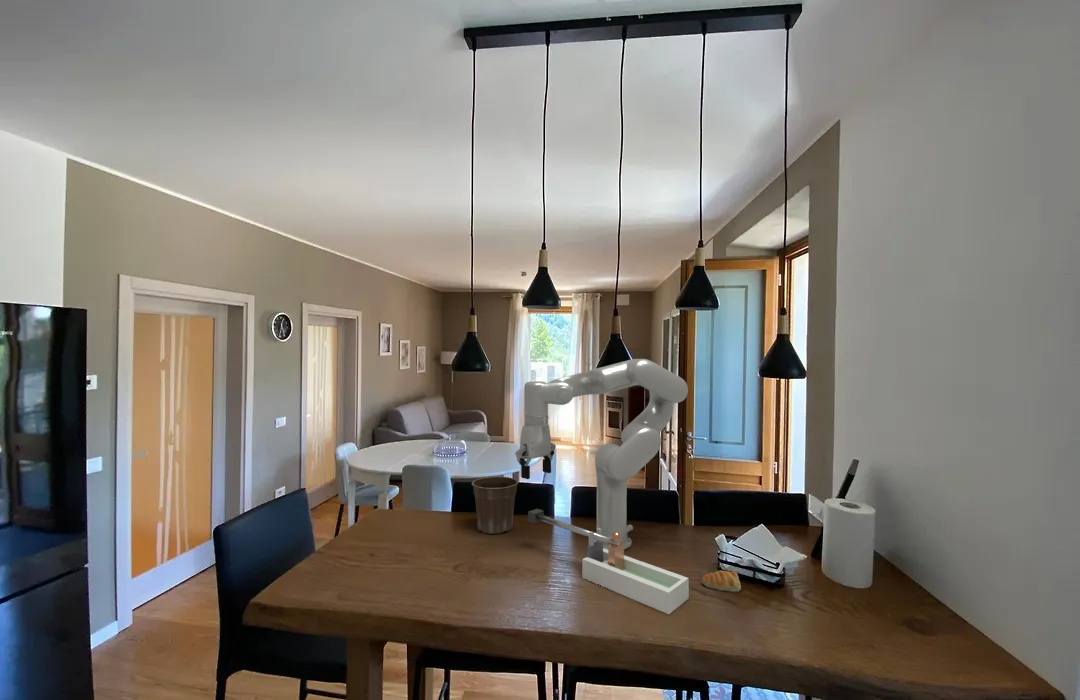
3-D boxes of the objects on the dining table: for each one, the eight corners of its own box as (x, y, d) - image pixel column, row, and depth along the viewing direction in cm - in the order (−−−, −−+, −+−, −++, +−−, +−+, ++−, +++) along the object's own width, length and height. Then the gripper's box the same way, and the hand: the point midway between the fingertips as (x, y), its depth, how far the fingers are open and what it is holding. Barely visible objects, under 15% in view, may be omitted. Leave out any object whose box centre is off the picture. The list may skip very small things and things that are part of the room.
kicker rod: (537, 535, 145) (537, 503, 146) (625, 568, 123) (625, 530, 123) (527, 539, 142) (527, 506, 143) (615, 573, 120) (615, 535, 120)
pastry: (705, 592, 117) (705, 576, 117) (698, 579, 124) (698, 565, 124) (743, 593, 116) (743, 578, 116) (734, 581, 123) (734, 566, 123)
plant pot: (472, 520, 167) (472, 476, 168) (516, 519, 169) (516, 475, 169) (470, 537, 151) (470, 488, 151) (519, 536, 153) (519, 487, 153)
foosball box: (604, 565, 131) (604, 525, 131) (688, 598, 113) (688, 551, 113) (582, 577, 124) (582, 534, 124) (668, 614, 106) (668, 564, 106)
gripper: (545, 417, 153) (546, 468, 153) (507, 422, 140) (508, 478, 140) (563, 419, 148) (563, 472, 147) (525, 424, 135) (525, 483, 135)
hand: (536, 475), depth 144 cm, fingers open, 9 cm apart
